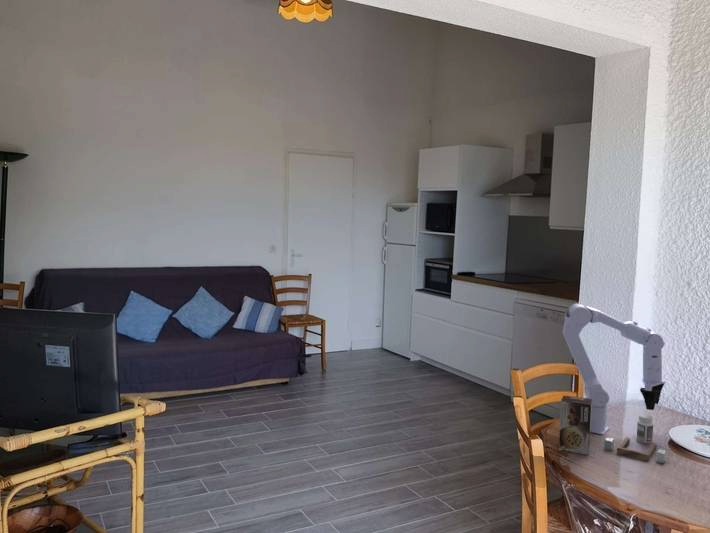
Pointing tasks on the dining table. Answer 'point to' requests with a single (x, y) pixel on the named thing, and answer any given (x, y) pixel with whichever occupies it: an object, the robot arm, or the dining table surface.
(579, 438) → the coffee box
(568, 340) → the robot arm
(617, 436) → the dining table surface
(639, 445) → the dining table surface
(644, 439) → the pill bottle
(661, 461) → the white cubes brown bar
